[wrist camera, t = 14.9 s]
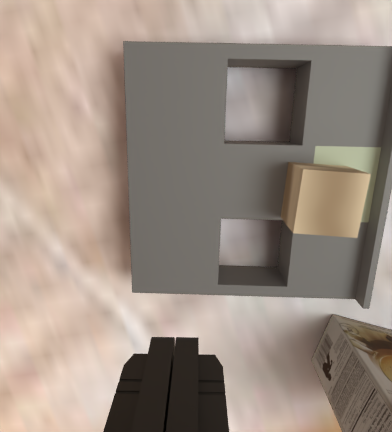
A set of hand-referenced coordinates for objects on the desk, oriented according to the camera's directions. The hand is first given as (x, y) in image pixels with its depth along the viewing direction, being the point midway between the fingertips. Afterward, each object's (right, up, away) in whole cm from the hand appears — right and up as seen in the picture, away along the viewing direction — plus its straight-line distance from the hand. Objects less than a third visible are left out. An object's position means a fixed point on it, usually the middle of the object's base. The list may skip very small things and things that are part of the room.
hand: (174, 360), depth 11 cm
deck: (+5, +8, +20) cm, 22 cm away
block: (+10, +7, +16) cm, 20 cm away
